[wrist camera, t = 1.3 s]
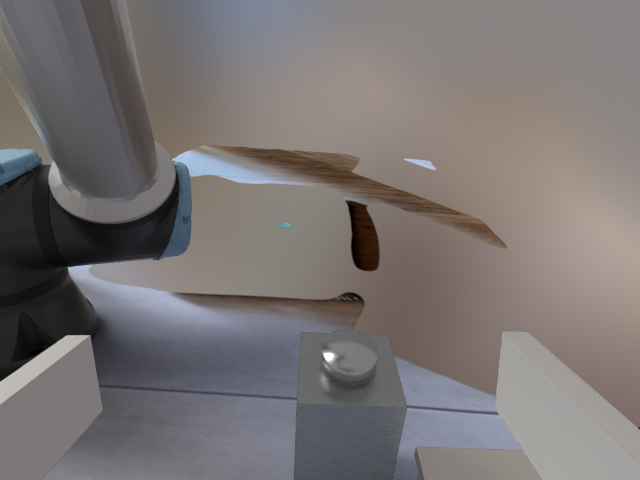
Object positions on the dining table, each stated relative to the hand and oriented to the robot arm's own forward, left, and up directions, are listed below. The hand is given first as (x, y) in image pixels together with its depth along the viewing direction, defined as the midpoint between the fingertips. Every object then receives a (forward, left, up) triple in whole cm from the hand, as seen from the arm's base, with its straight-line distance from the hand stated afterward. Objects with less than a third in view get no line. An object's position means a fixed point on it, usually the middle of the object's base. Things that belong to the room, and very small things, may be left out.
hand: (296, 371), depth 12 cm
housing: (-11, +3, -24) cm, 27 cm away
